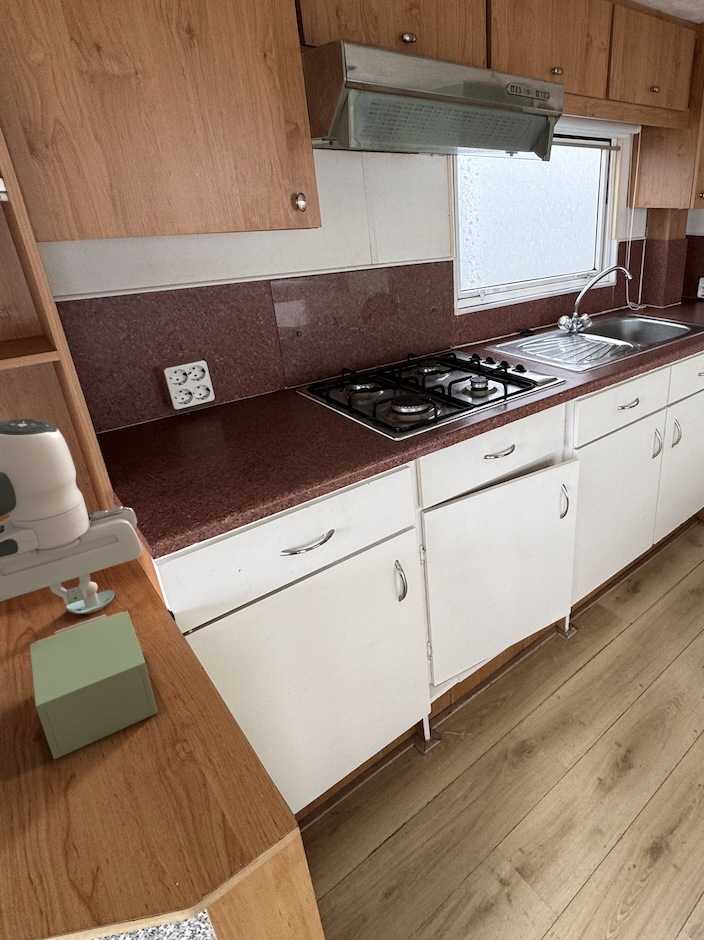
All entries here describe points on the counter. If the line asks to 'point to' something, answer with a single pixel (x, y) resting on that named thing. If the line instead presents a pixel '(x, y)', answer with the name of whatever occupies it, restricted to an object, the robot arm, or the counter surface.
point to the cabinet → (90, 683)
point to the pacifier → (91, 600)
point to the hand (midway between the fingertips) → (76, 600)
